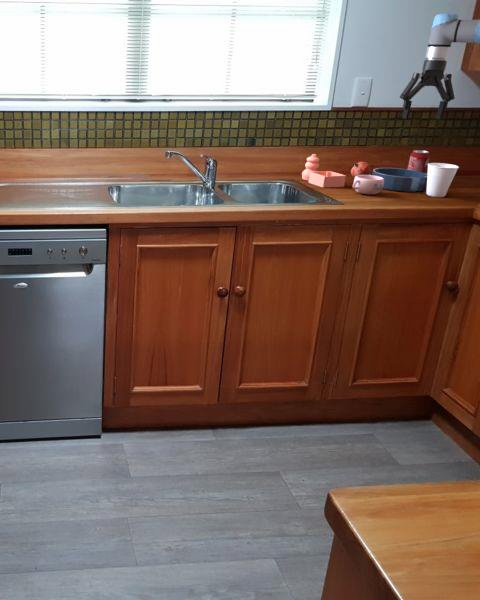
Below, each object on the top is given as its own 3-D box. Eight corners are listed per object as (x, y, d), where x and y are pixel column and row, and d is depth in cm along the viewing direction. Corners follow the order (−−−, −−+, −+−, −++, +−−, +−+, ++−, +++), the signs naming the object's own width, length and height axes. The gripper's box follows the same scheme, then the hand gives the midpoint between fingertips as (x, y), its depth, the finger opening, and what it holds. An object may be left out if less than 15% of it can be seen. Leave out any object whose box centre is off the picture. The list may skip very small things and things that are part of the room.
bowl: (415, 183, 242) (418, 169, 240) (432, 193, 224) (436, 179, 222) (364, 180, 245) (367, 166, 242) (377, 190, 227) (381, 176, 225)
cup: (450, 200, 216) (458, 169, 211) (419, 196, 220) (426, 165, 216) (451, 195, 223) (459, 164, 219) (421, 191, 228) (428, 161, 224)
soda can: (419, 184, 240) (426, 153, 236) (401, 181, 245) (408, 150, 240) (425, 181, 245) (433, 151, 240) (408, 179, 249) (415, 149, 244)
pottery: (343, 186, 232) (349, 160, 229) (322, 187, 230) (327, 161, 226) (315, 177, 248) (319, 152, 244) (295, 177, 246) (299, 153, 242)
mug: (366, 189, 229) (370, 173, 226) (387, 195, 220) (391, 179, 218) (341, 191, 225) (344, 175, 222) (361, 197, 216) (365, 181, 214)
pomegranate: (358, 182, 250) (342, 167, 247) (372, 169, 247) (357, 153, 244) (365, 188, 244) (349, 173, 241) (380, 174, 241) (364, 159, 238)
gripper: (461, 60, 230) (447, 118, 238) (398, 58, 228) (385, 117, 236) (474, 60, 223) (459, 120, 231) (409, 59, 221) (396, 119, 230)
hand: (422, 118), depth 234 cm, fingers open, 13 cm apart
